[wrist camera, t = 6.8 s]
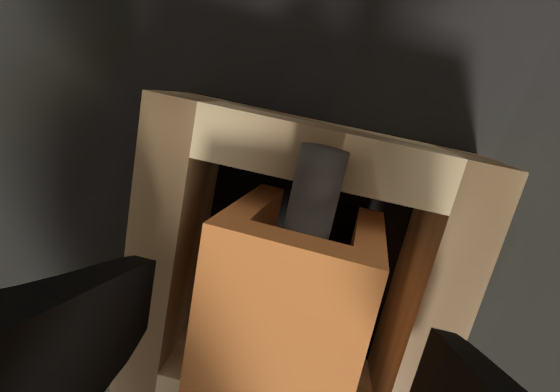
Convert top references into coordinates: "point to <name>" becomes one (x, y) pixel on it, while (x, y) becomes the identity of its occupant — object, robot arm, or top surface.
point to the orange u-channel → (281, 302)
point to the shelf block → (312, 220)
